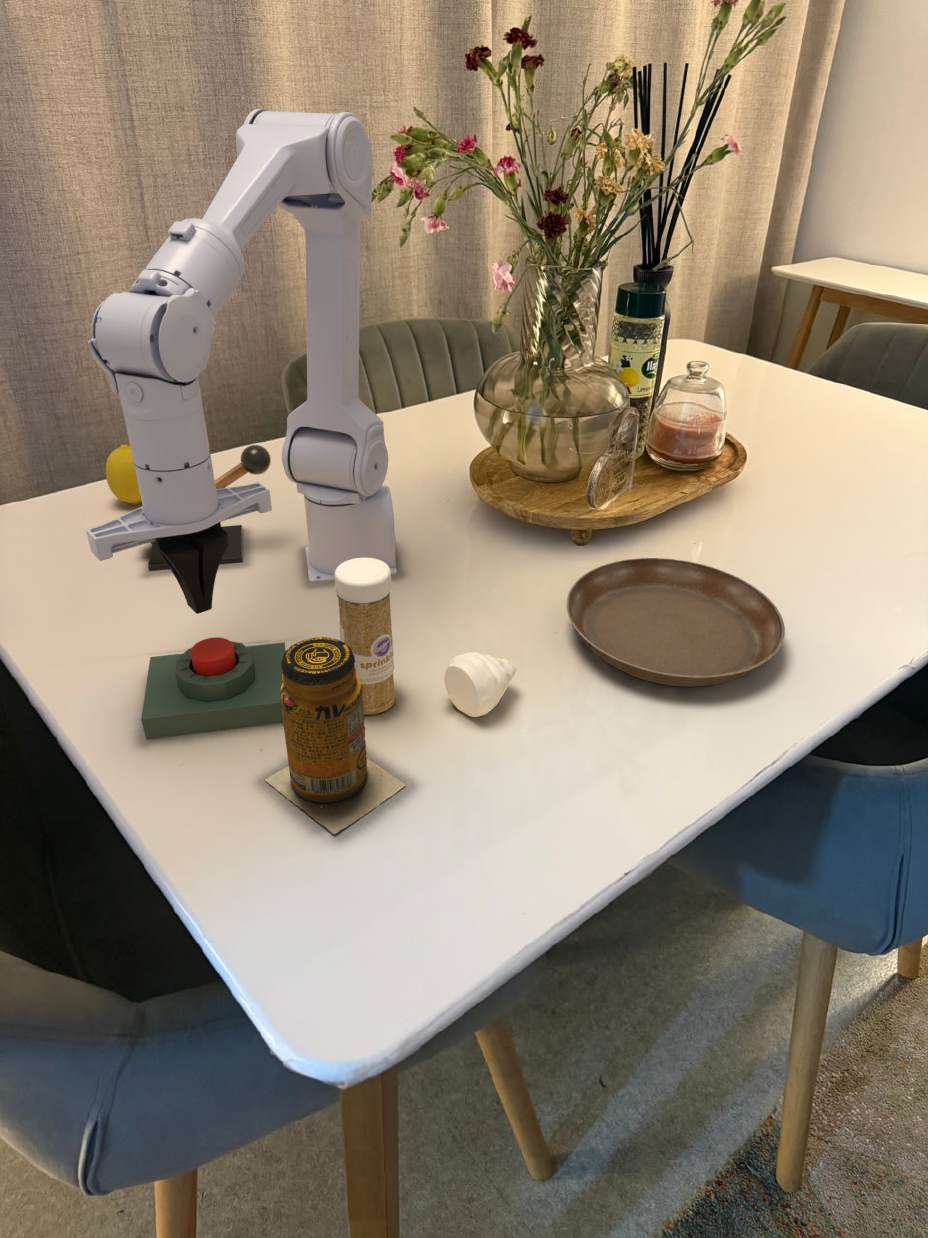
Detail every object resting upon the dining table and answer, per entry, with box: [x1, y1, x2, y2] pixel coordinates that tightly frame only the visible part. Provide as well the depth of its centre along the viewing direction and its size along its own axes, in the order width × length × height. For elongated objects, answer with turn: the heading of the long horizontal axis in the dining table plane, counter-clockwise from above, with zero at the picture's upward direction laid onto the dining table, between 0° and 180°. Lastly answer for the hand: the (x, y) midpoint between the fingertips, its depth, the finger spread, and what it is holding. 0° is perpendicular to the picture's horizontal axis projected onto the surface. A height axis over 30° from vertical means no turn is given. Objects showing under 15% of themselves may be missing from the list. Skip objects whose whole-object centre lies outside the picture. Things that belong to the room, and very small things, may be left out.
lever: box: [215, 444, 272, 489], centre depth 98 cm, size 17×3×3 cm
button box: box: [141, 640, 287, 740], centre depth 78 cm, size 12×9×4 cm
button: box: [190, 636, 236, 677], centre depth 76 cm, size 4×4×2 cm
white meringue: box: [444, 651, 517, 718], centre depth 77 cm, size 6×6×5 cm
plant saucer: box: [566, 557, 786, 688], centre depth 86 cm, size 21×21×3 cm
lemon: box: [105, 444, 142, 506], centre depth 109 cm, size 6×6×8 cm
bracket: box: [147, 524, 244, 572], centre depth 99 cm, size 10×8×7 cm
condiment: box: [265, 636, 407, 835], centre depth 66 cm, size 7×8×12 cm
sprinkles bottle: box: [334, 558, 397, 715], centre depth 75 cm, size 5×5×14 cm
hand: (199, 606), depth 75 cm, fingers closed
